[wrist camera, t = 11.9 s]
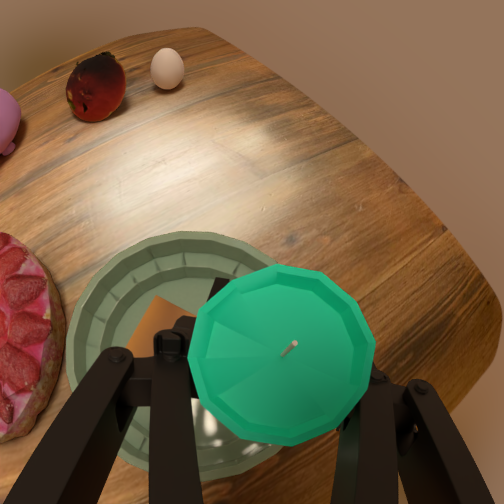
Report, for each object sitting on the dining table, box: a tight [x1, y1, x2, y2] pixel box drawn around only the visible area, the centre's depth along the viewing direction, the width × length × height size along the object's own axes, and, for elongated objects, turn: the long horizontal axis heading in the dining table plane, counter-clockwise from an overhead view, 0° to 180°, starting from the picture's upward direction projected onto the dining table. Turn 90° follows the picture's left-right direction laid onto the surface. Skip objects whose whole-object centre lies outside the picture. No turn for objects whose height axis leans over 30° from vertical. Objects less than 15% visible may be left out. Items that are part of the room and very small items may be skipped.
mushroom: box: [66, 52, 126, 122], centre depth 43 cm, size 12×12×15 cm
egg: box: [150, 48, 184, 89], centre depth 43 cm, size 5×5×8 cm
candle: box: [187, 264, 376, 447], centre depth 13 cm, size 6×6×12 cm
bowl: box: [66, 231, 283, 482], centre depth 26 cm, size 21×21×6 cm
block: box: [125, 295, 197, 357], centre depth 26 cm, size 6×6×6 cm
